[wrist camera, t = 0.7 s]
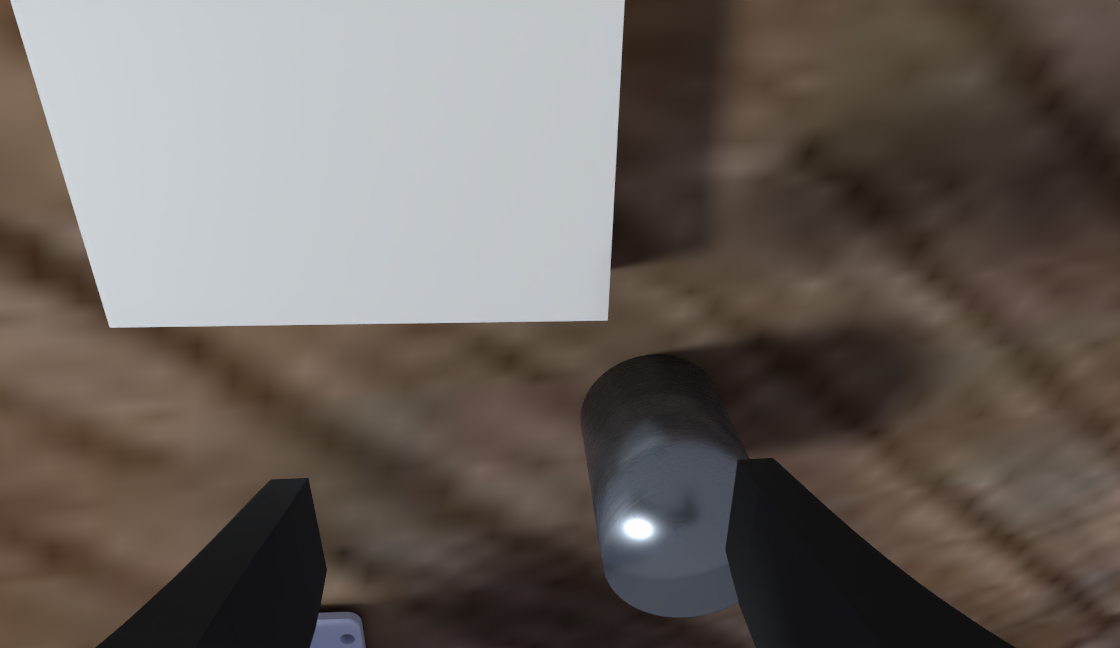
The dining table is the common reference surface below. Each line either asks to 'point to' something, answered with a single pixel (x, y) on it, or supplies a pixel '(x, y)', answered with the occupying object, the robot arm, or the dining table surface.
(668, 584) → the grey cylinder
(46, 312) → the dining table surface
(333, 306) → the base block
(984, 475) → the dining table surface
